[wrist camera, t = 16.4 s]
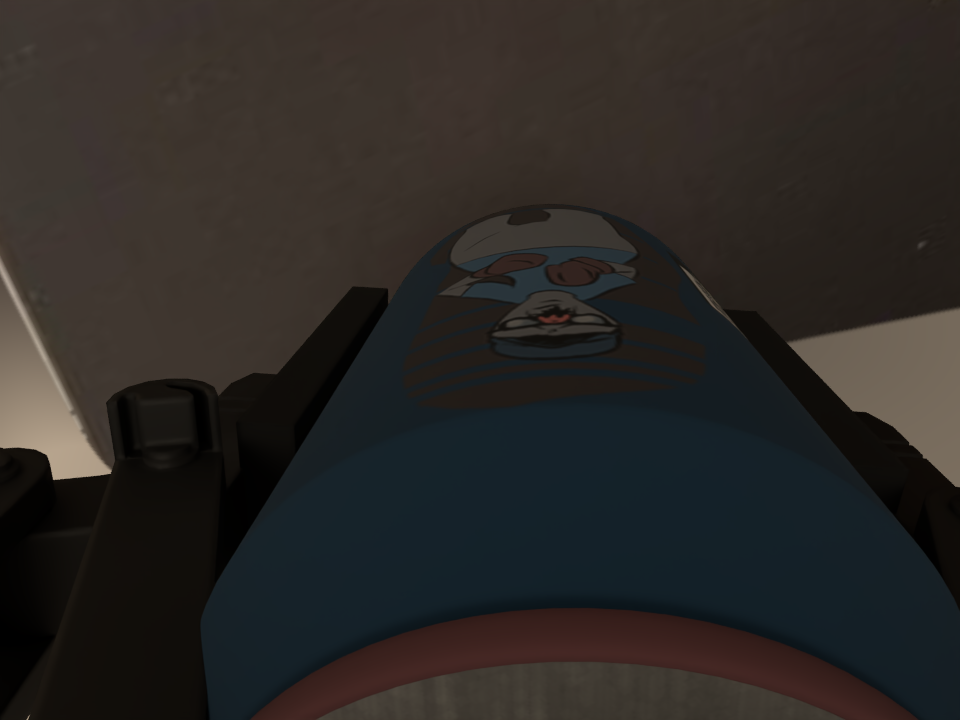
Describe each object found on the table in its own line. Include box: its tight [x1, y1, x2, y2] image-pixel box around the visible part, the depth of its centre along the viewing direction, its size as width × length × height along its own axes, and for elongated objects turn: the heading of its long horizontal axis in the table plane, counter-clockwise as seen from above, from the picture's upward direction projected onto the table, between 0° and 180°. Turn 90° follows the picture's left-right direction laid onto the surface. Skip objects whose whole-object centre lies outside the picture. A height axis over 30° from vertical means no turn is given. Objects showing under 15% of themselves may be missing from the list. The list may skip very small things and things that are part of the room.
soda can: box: [200, 204, 960, 720], centre depth 10 cm, size 7×7×12 cm
